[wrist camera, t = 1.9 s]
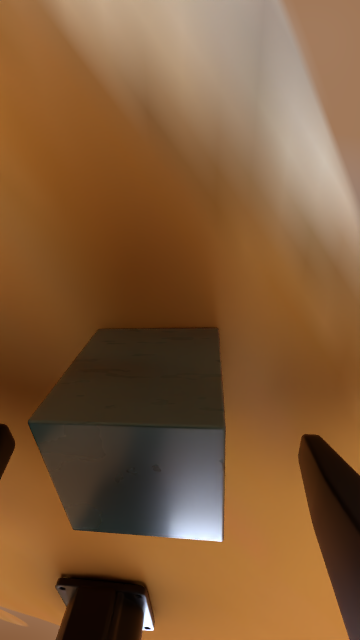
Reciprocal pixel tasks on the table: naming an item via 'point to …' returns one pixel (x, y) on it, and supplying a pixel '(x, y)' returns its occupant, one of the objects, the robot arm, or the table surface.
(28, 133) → the table surface
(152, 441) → the block
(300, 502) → the table surface
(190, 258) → the table surface
